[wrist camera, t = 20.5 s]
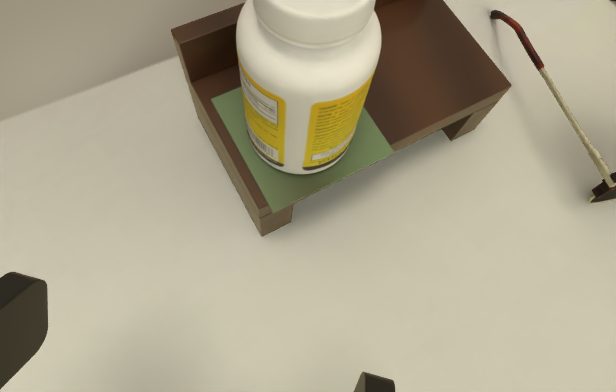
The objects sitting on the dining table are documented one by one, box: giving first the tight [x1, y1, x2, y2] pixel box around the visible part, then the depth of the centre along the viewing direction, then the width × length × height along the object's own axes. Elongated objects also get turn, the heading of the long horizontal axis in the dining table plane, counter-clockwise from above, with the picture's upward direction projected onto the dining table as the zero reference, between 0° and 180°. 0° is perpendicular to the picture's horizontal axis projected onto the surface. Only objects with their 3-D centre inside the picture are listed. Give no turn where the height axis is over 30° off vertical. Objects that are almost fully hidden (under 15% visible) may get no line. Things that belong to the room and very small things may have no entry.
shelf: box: [171, 0, 512, 236], centre depth 25 cm, size 16×10×8 cm, turn 119°
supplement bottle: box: [236, 0, 381, 174], centre depth 18 cm, size 5×5×10 cm
